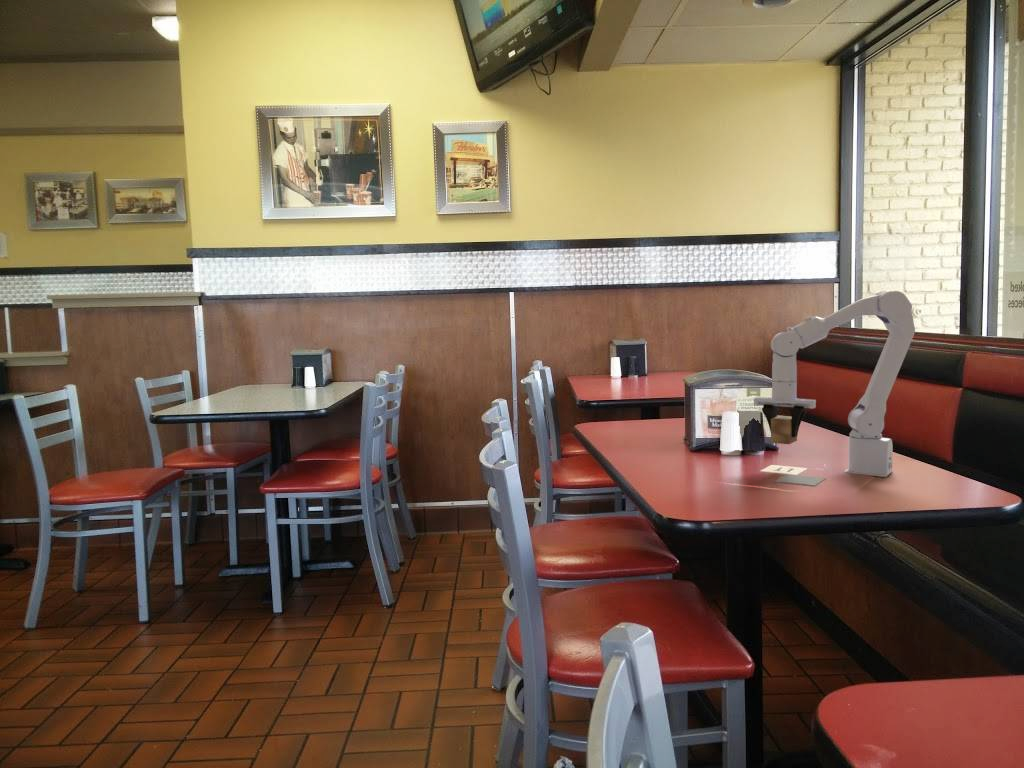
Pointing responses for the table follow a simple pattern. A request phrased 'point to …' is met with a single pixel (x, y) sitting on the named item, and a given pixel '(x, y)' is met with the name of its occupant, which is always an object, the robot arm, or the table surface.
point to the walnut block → (782, 430)
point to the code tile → (784, 469)
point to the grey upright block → (747, 417)
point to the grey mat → (800, 480)
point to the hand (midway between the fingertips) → (784, 435)
